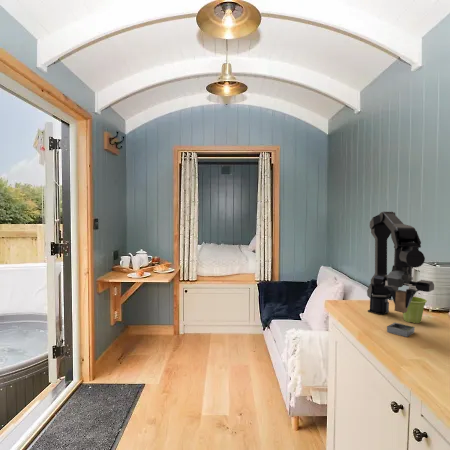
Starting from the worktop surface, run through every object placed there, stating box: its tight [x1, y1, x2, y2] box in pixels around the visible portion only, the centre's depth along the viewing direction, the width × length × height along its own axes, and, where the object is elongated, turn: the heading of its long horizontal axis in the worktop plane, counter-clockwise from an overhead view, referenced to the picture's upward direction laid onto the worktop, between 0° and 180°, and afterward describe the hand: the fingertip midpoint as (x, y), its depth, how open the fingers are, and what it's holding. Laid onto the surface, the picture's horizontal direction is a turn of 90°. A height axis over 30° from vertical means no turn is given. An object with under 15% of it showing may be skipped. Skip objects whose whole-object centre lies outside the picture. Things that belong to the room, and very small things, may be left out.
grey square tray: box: [386, 321, 415, 338], centre depth 126 cm, size 7×7×2 cm
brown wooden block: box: [394, 289, 408, 314], centre depth 126 cm, size 3×3×7 cm
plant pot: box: [402, 296, 428, 324], centre depth 139 cm, size 9×9×9 cm
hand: (401, 306), depth 126 cm, fingers closed on brown wooden block, 3 cm apart
